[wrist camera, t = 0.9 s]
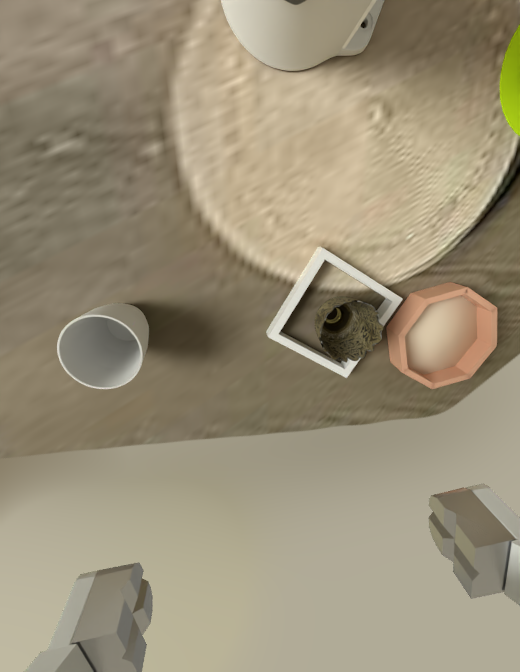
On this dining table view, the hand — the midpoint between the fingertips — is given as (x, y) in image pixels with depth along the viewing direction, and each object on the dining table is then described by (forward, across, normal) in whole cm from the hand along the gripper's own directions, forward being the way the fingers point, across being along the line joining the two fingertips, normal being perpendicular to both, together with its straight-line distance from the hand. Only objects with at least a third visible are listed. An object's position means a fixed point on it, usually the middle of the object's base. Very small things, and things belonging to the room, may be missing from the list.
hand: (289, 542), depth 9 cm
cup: (+36, +15, +2) cm, 39 cm away
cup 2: (+36, -12, +6) cm, 38 cm away
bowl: (+36, -27, +12) cm, 46 cm away
